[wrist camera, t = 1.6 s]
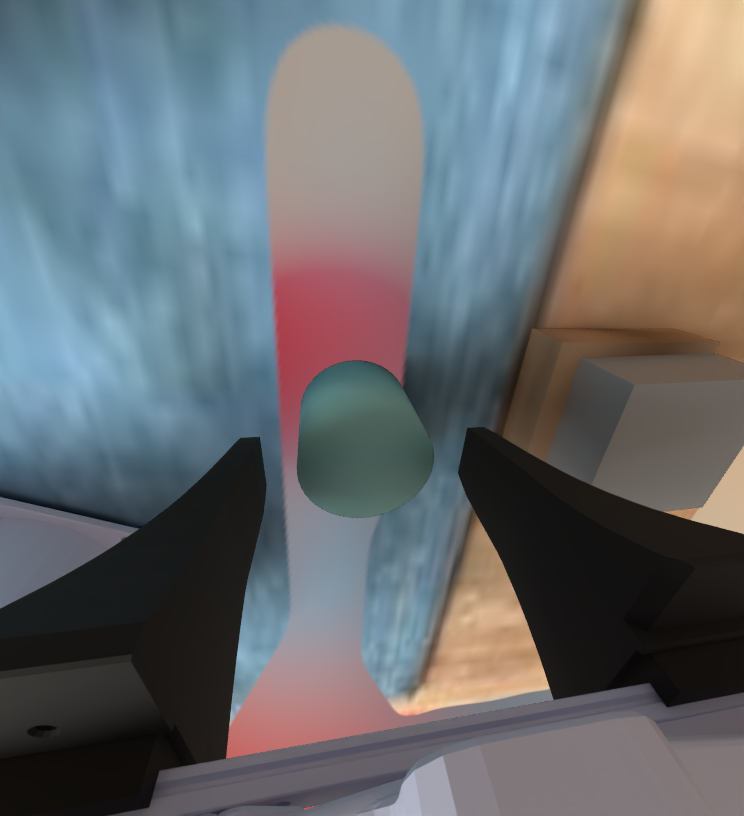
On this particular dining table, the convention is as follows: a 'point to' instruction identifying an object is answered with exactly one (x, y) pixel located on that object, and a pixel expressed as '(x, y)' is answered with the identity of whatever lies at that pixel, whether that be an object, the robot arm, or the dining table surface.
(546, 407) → the base block
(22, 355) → the dining table surface
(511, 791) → the robot arm
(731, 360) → the top block
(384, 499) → the green rounded cylinder
